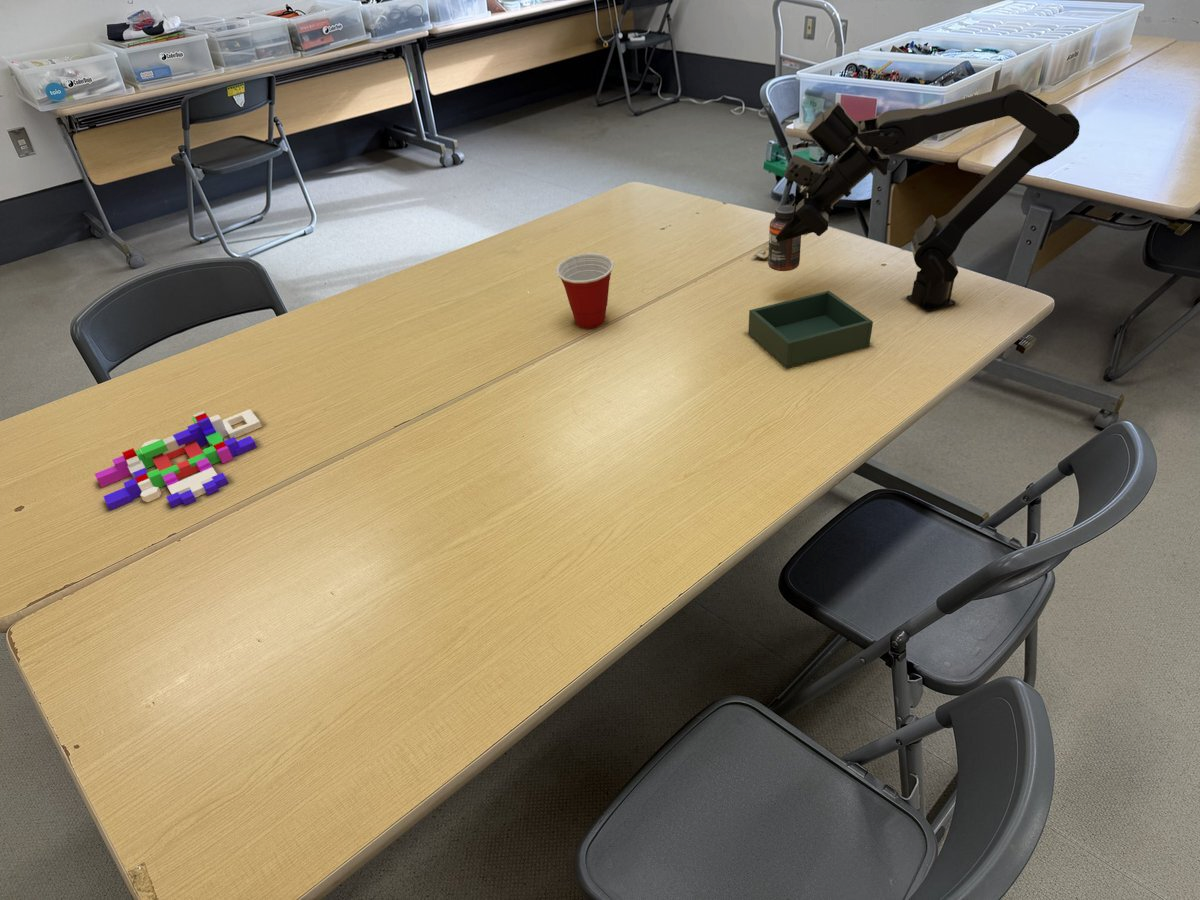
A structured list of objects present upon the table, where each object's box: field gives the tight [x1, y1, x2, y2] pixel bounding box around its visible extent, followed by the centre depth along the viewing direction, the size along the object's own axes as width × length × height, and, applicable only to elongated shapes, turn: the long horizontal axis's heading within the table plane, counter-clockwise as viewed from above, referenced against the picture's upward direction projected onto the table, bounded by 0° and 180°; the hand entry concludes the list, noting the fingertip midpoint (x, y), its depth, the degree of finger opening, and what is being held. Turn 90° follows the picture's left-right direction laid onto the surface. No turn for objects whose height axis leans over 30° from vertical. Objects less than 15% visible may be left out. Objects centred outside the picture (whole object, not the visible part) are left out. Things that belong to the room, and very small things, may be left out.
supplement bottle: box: [767, 204, 802, 272], centre depth 148 cm, size 6×6×11 cm
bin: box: [747, 290, 874, 369], centre depth 140 cm, size 17×14×5 cm
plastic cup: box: [555, 252, 615, 330], centre depth 149 cm, size 11×11×12 cm
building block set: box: [94, 408, 263, 511], centre depth 124 cm, size 25×20×4 cm
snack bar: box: [753, 242, 769, 260], centre depth 172 cm, size 10×2×3 cm
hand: (777, 233), depth 148 cm, fingers closed on supplement bottle, 6 cm apart
